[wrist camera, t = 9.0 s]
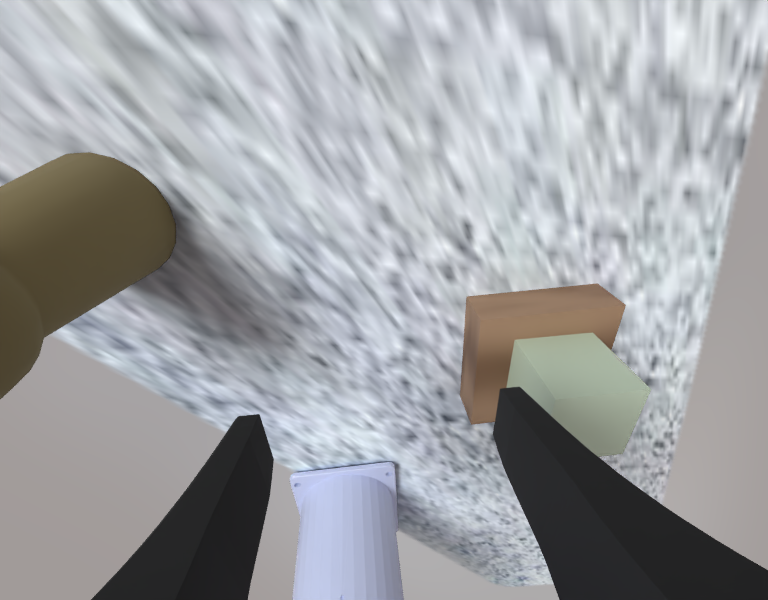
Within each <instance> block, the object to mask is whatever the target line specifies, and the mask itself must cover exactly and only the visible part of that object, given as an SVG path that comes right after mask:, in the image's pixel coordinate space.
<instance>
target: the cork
mask: <svg viewBox="0 0 768 600" xmlns="http://www.w3.org/2000/svg"><path fill="white" fill-rule="evenodd" d="M175 243H176V224H175V221H174V218H173V216H172V213H171V210H170V207H169V205H168V203H167V202H166V201H165V199H164V198H163V196H162V195H161V193H160V192H159V191H158V189H157V188H156V186H154V185H153V184H152V183H151V182H150V181H149V180H148V179H146V178H145V177H144V176H143V175H142V174H141V173H139V172H138V171H137V170H136V169H134V168H132V167H130V166H128V165H126V164H124V163H122V162H120V161H118V160H116V159H114V158H111V157H107V156H103V155H98V154H94V153H90V152H88V153H73V154H65V155H63V156H61V157H59V158H57V159H55V160H53V161H51V162H48V163H46V164H44V165H42V166H41V167H39V168H37V169H35V170H33V171H31V172H29V173H27V174H25V175H23V176H21V177H19V178H17V179H15V180H13V181H11V182H9V183H7V184H5V185H3V186H1V187H0V399H1V398H2V397H3V396H4V395H6V394H7V393H8V392H9V391H10V390H11V389H12V388H13V387H14V386H15V385H16V384H17V383H18V382H19V381H20V380H21V379H22V378H23V377H24V376H25V375H26V374H27V373H28V372H29V371H30V370H31V368H32V367H33V365H34V363H35V361H36V360H37V358H38V356H39V354H40V350H41V347H42V343H43V339H44V337H46V336H48V335H49V334H51V333H53V332H54V331H56V330H58V329H59V328H61V327H63V326H64V325H66V324H68V323H69V322H71V321H73V320H74V319H76V318H78V317H79V316H81V315H83V314H84V313H86V312H87V311H89V310H91V309H92V308H94V307H96V306H97V305H99V304H101V303H102V302H104V301H106V300H107V299H109V298H111V297H112V296H114V295H116V294H117V293H119V292H121V291H122V290H124V289H126V288H127V287H129V286H130V285H132V284H134V283H135V282H137V281H139V280H140V279H142V278H144V277H145V276H147V275H149V274H150V273H152V272H154V271H155V270H157V269H158V268H159V267H160V266H162V265H163V264H164V263H165V262H166V261H167V260H168V259H169V258H170V256H171V253H172V251H173V248H174V246H175Z"/></svg>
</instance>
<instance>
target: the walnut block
mask: <svg viewBox="0 0 768 600" xmlns="http://www.w3.org/2000/svg"><path fill="white" fill-rule="evenodd" d="M625 306H626V305H625V304H624V303H622V302H621V301H620V300H618V299H617V298H616V297H614V296H613V295H612V294H610V293H609V292H608V291H607V290H605V289H604V288H603V287H601V286H600V285H599V284H589V285H579V286H569V287H559V288H549V289H539V290H529V291H519V292H508V293H498V294H488V295H478V296H468V297H467V299H466V314H465V329H464V344H463V359H462V375H461V390H460V397H461V399H462V402H463V404H464V407H465V410H466V412H467V415H468V417H469V420H470V423H471V425H472V424H480V423H488V422H495V418H496V411H497V405H498V398H499V392H500V389H501V388H506V387H507V381H508V375H509V370H510V364H511V358H512V352H513V347H514V341H515V340H518V339H529V338H539V337H550V336H561V335H571V334H582V333H592V332H593V333H594V334H595V335H596V336H597V337H598V338H599V339H600V340H601V341H602V342H603V343H604V344H605V345H606V346H607V347H608V348H609V349H610V350H611V349H612V346H613V343H614V340H615V337H616V334H617V331H618V328H619V324H620V321H621V318H622V315H623V312H624V309H625Z"/></svg>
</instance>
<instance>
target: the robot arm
mask: <svg viewBox="0 0 768 600" xmlns="http://www.w3.org/2000/svg"><path fill="white" fill-rule="evenodd" d="M493 436H494V439H495V442H496V445H497V449H498V452H499V455H500V458H501V461H502V464H503V467H504V469H505V471H506V474H507V476H508V478H509V480H510V483H511V485H512V487H513V489H514V491H515V494H516V496H517V498H518V500H519V502H520V505H521V507H522V509H523V511H524V513H525V516H526V518H527V520H528V522H529V524H530V526H531V529H532V531H533V533H534V535H535V537H536V540H537V542H538V544H539V546H540V549H541V551H542V553H543V556H544V558H545V561H546V563H547V566H548V569H549V572H550V574H551V577H552V580H553V583H554V585H555V588H556V591H557V593H558V597H559V599H560V600H768V570H766V569H765V568H763V567H761V566H759V565H758V564H756V563H754V562H753V561H751V560H749V559H747V558H746V557H744V556H742V555H740V554H739V553H737V552H735V551H733V550H732V549H730V548H729V547H727V546H725V545H724V544H722V543H720V542H719V541H717V540H715V539H714V538H712V537H711V536H709V535H708V534H706V533H704V532H703V531H701V530H699V529H698V528H696V527H695V526H693V525H692V524H690V523H689V522H687V521H685V520H684V519H682V518H681V517H679V516H678V515H676V514H675V513H673V512H672V511H670V510H669V509H667V508H666V507H664V506H663V505H661V504H660V503H659V502H657V501H656V500H654V499H653V498H652V497H650V496H649V495H647V494H646V493H645V492H643V491H642V490H640V489H639V488H638V487H636V486H635V485H633V484H632V483H631V482H629V481H628V480H627V479H625V478H624V477H623V476H621V475H620V474H619V473H617V472H616V471H615V470H614V469H612V468H611V467H610V466H609V465H607V464H606V463H605V462H604V461H602V460H601V459H600V458H599V457H598V456H596V455H595V454H594V453H593V452H592V451H590V450H589V449H588V448H587V447H586V446H584V445H583V444H582V443H581V442H580V441H579V440H578V439H576V438H575V437H574V436H573V435H572V434H571V433H570V432H568V431H567V430H566V429H565V428H564V427H563V426H562V425H561V424H560V423H558V422H557V421H556V420H555V419H554V418H553V417H552V416H551V415H550V414H549V413H548V412H546V411H545V410H544V409H543V408H542V407H541V406H540V405H539V404H538V403H537V402H536V401H535V400H534V399H533V398H532V397H530V396H529V395H528V394H527V393H526V392H525V391H524V390H523V389H522V388H521V387H510V388H501V389H500V392H499V398H498V405H497V411H496V418H495V425H494V431H493ZM273 460H274V459H273V456H272V453H271V449H270V446H269V443H268V440H267V437H266V434H265V430H264V427H263V424H262V421H261V418H260V415H259V414H257V415H247V416H238V417H237V418H236V419H235V421H234V422H233V424H232V425H231V427H230V428H229V430H228V431H227V433H226V434H225V436H224V437H223V439H222V440H221V442H220V443H219V445H218V446H217V447H216V449H215V450H214V452H213V453H212V455H211V456H210V458H209V459H208V460H207V462H206V463H205V465H204V466H203V467H202V469H201V470H200V472H199V473H198V474H197V476H196V477H195V478H194V480H193V481H192V482H191V484H190V485H189V487H188V488H187V489H186V491H185V492H184V493H183V495H182V496H181V497H180V499H179V500H178V501H177V502H176V503H175V505H174V506H173V507H172V508H171V510H170V511H169V512H168V514H167V515H166V516H165V517H164V519H163V520H162V521H161V522H160V524H159V525H158V526H157V527H156V529H155V530H154V531H153V532H152V533H151V534H150V536H149V537H148V538H147V539H146V540H145V542H144V543H143V544H142V545H141V546H140V547H139V549H138V550H137V551H136V552H135V553H134V554H133V555H132V556H131V557H130V559H129V560H128V561H127V562H126V563H125V564H124V565H123V566H122V568H121V569H120V570H119V571H118V572H117V573H116V574H115V575H114V576H113V577H112V578H111V579H110V580H109V581H108V582H107V584H106V585H105V586H104V587H103V588H102V589H101V590H100V591H99V592H98V593H97V594H96V595H95V596H94V597H93V598H92V599H91V600H248V594H249V588H250V583H251V579H252V574H253V570H254V564H255V561H256V556H257V552H258V547H259V543H260V538H261V533H262V529H263V524H264V520H265V515H266V511H267V506H268V501H269V497H270V489H271V480H272V470H273ZM290 484H291V487H292V490H293V493H294V497H295V500H296V504H297V507H298V511H299V514H300V517H301V518H300V529H299V539H298V548H297V558H296V568H295V578H294V588H293V598H292V600H404V598H403V589H402V581H401V573H400V563H399V555H398V546H397V538H396V532H397V531H398V514H397V495H396V476H395V465H394V464H393V463H392V462H384V463H375V464H367V465H358V466H349V467H341V468H332V469H323V470H315V471H306V472H298V473H293V474H292V475H291V476H290Z"/></svg>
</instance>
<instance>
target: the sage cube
mask: <svg viewBox="0 0 768 600" xmlns="http://www.w3.org/2000/svg"><path fill="white" fill-rule="evenodd" d="M510 387H521V388H522V389H523V390H524V391H525V392H526V393H527V394H528V395H529V396H530V397H532V398H533V399H534V400H535V401H536V402H537V403H538V404H539V405H540V406H541V407H542V408H543V409H544V410H545V411H546V412H548V413H549V414H550V415H551V416H552V417H553V418H554V419H555V420H556V421H557V422H558V423H560V424H561V425H562V426H563V427H564V428H565V429H566V430H567V431H568V432H570V433H571V434H572V435H573V436H574V437H575V438H576V439H578V440H579V441H580V442H581V443H582V444H583V445H584V446H586V447H587V448H588V449H589V450H590V451H592V452H593V453H594V454H595V455H596V456H598V457H600V456H608V455H617V454H623V451H624V449H625V447H626V445H627V443H628V440H629V438H630V436H631V434H632V431H633V429H634V427H635V425H636V422H637V420H638V418H639V416H640V413H641V411H642V409H643V407H644V404H645V402H646V400H647V398H648V395H649V393H650V391H651V389H650V388H649V387H648V386H647V385H646V384H645V383H644V382H643V381H642V380H641V379H640V378H639V377H638V376H637V375H636V374H635V373H634V372H633V371H632V370H631V369H630V368H629V367H628V366H627V365H625V364H624V363H623V362H622V361H621V360H620V359H619V358H618V357H617V356H616V355H615V354H614V353H613V352H612V351H611V350H610V349H609V348H608V347H607V346H606V345H605V344H604V343H603V342H602V341H601V340H600V339H599V338H598V337H597V336H596V335H595V334H594V333H593V332H592V333H582V334H571V335H561V336H550V337H539V338H529V339H518V340H515V341H514V347H513V352H512V358H511V364H510V370H509V375H508V381H507V387H506V388H510Z"/></svg>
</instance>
